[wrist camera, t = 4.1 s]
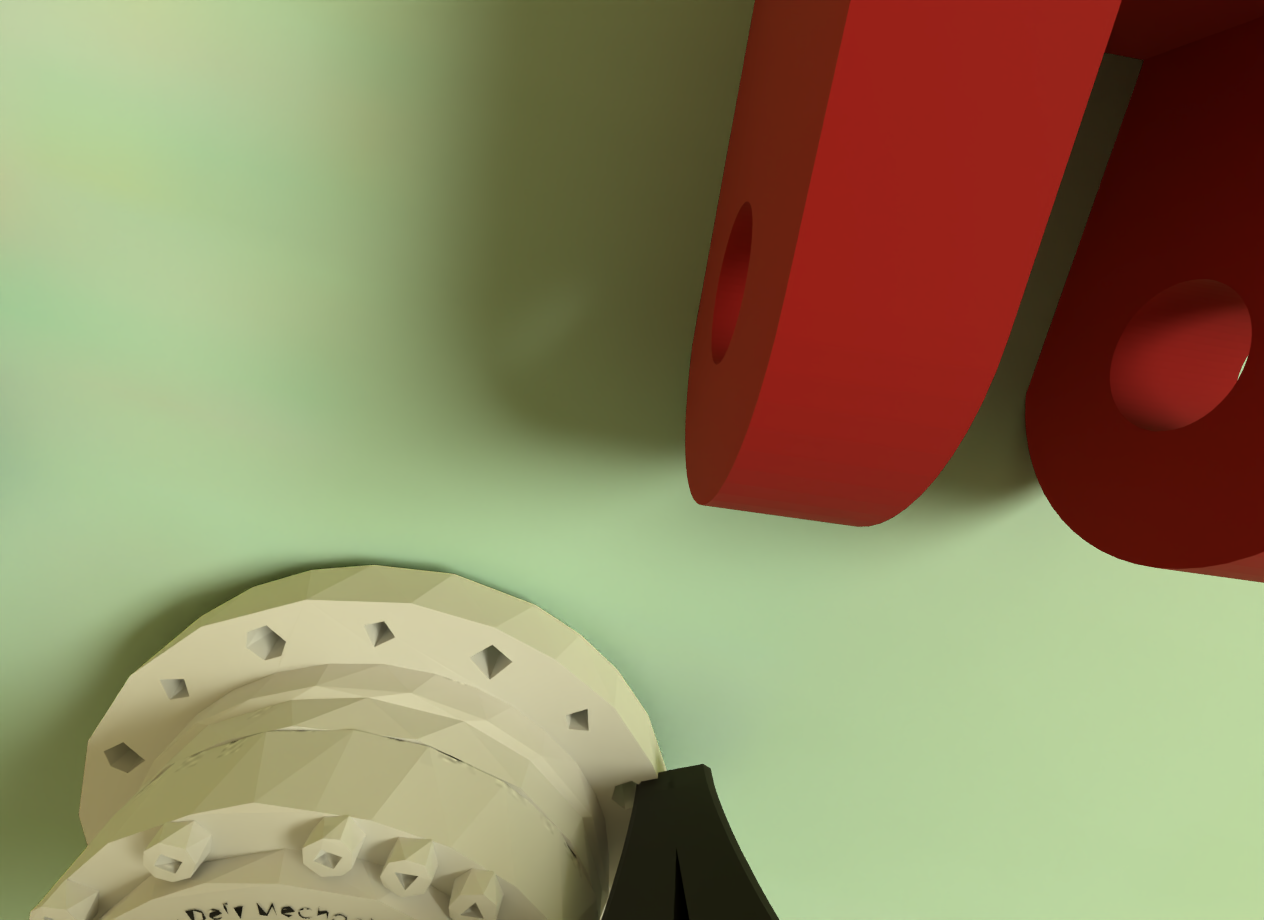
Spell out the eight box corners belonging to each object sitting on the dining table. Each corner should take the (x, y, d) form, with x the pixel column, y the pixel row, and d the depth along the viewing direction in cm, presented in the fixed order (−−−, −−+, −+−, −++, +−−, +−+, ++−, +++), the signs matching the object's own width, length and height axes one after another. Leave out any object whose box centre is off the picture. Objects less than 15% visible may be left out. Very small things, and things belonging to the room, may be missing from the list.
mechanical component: (236, 454, 10) (81, 869, 13) (-43, 599, 6) (-187, 1174, 8) (765, 699, 12) (529, 1021, 14) (845, 952, 7) (490, 1341, 10)
